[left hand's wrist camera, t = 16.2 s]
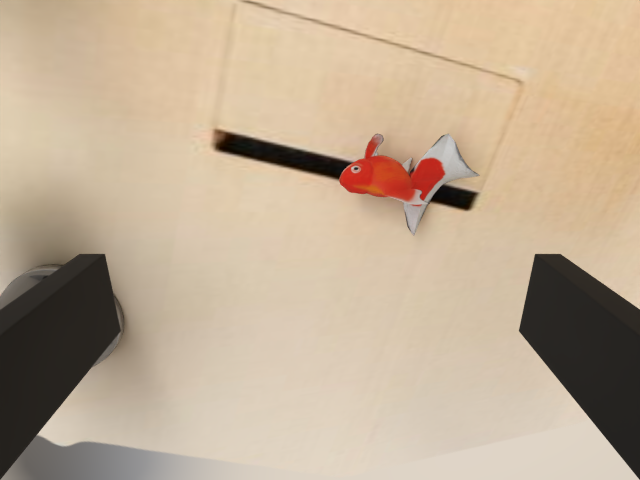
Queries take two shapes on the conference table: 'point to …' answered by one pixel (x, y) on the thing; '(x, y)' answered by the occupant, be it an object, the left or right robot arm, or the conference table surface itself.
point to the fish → (406, 176)
